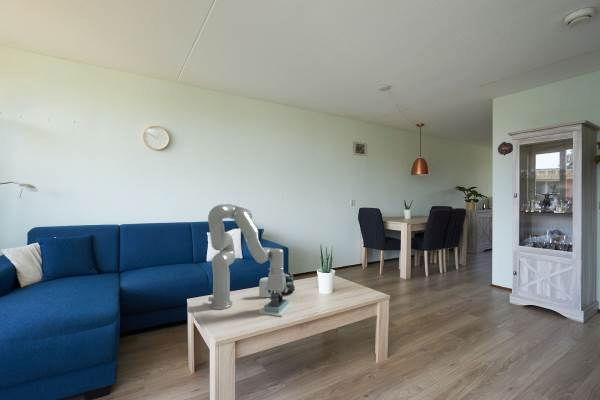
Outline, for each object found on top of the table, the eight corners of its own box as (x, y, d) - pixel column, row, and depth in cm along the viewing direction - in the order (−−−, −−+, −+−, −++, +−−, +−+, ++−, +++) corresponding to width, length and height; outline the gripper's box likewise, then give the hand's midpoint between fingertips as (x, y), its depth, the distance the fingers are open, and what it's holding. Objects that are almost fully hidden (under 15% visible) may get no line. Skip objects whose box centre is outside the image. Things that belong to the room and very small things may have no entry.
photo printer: (274, 295, 189) (275, 276, 189) (275, 297, 185) (275, 278, 185) (259, 295, 188) (259, 276, 188) (259, 298, 184) (259, 278, 184)
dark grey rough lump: (270, 294, 191) (269, 273, 198) (279, 296, 201) (278, 276, 207) (290, 290, 186) (288, 268, 192) (298, 292, 195) (297, 272, 202)
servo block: (270, 308, 162) (270, 294, 162) (276, 302, 171) (276, 288, 171) (276, 309, 161) (276, 294, 161) (283, 303, 170) (283, 289, 170)
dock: (258, 313, 160) (258, 307, 160) (272, 302, 177) (272, 296, 177) (282, 316, 155) (282, 310, 155) (293, 305, 172) (293, 299, 172)
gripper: (260, 270, 165) (260, 302, 165) (288, 273, 159) (287, 306, 160) (266, 267, 172) (266, 298, 172) (292, 270, 167) (292, 301, 167)
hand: (276, 301), depth 166 cm, fingers closed on servo block, 4 cm apart
